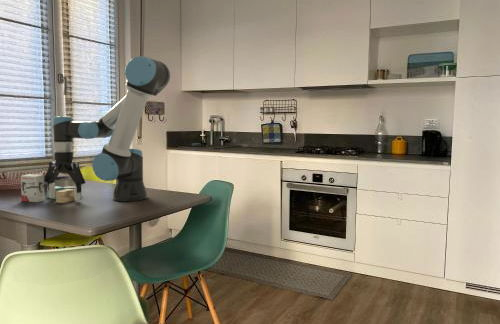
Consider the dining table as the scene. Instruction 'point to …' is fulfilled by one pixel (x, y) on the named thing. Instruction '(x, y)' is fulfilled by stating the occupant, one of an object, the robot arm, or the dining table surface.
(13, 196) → the dining table surface
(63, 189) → the brick grey
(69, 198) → the brick oak
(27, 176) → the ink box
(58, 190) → the brick teal
